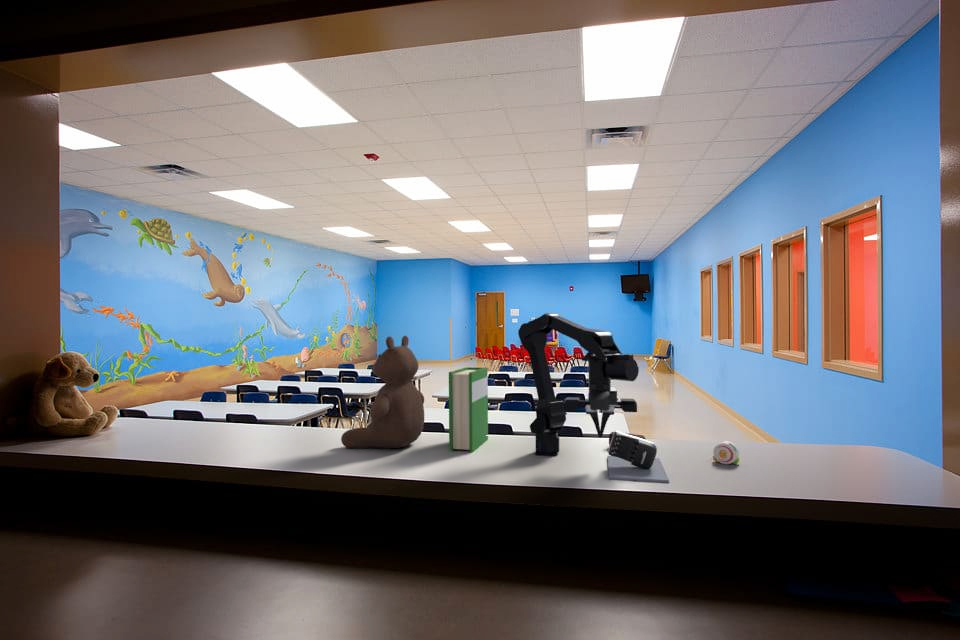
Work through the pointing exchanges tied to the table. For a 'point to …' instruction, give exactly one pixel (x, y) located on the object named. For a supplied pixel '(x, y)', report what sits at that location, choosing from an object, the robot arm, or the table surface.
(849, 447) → the table surface
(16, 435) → the table surface
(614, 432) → the brick
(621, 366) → the robot arm
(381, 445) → the stuffed bear
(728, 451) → the sushi roll
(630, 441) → the battery charger
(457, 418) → the hardback book
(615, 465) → the mat
